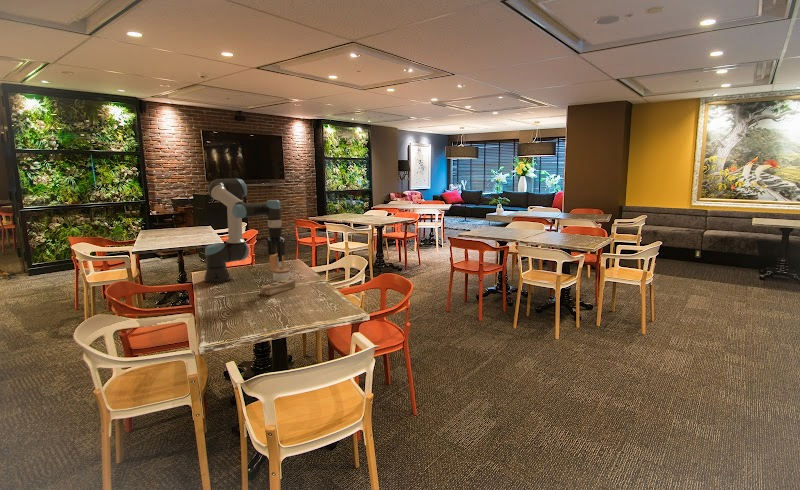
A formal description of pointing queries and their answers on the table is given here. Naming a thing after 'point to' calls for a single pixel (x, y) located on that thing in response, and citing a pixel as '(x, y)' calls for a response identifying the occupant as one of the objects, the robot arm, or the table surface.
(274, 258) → the wooden arch block
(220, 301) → the table surface
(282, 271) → the lidded jar
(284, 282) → the brown wooden block
